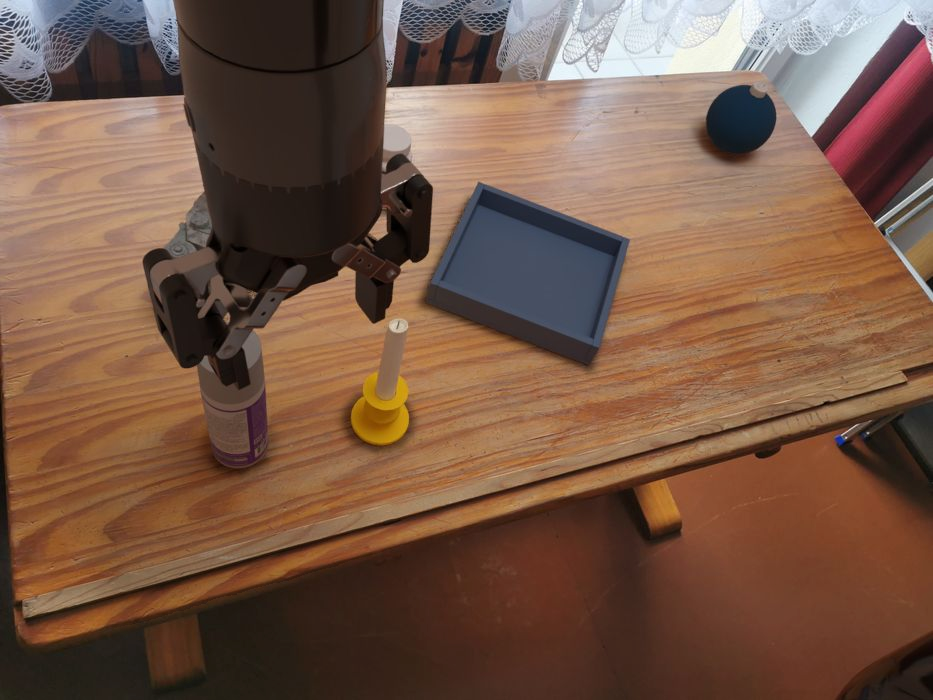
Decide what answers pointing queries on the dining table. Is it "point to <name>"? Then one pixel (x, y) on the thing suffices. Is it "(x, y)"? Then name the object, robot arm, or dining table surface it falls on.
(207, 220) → the camera
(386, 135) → the pill bottle
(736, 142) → the christmas ornament
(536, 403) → the dining table surface
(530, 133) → the dining table surface
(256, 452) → the container
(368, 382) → the candle
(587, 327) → the tray
